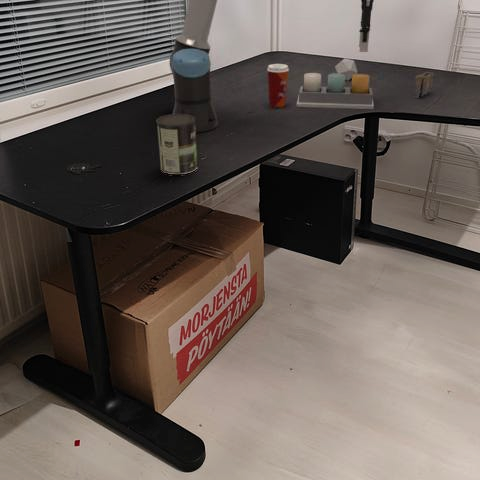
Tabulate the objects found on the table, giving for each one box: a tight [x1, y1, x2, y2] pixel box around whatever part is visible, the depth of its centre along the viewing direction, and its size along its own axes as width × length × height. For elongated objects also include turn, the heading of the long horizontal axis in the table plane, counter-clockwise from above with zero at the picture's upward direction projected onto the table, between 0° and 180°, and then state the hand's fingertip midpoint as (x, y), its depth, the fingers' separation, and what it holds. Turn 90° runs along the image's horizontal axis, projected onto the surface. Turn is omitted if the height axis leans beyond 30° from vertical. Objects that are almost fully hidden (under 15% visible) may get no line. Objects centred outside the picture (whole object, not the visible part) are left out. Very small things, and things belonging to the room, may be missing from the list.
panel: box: [296, 85, 375, 110], centre depth 219 cm, size 27×13×4 cm, turn 82°
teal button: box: [327, 72, 346, 93], centre depth 217 cm, size 6×6×6 cm
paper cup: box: [266, 63, 290, 108], centre depth 215 cm, size 8×8×14 cm
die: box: [334, 58, 359, 82], centre depth 247 cm, size 8×9×10 cm
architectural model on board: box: [412, 71, 434, 97], centre depth 225 cm, size 11×3×10 cm, turn 143°
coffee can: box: [155, 113, 199, 174], centre depth 164 cm, size 10×10×14 cm
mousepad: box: [66, 162, 102, 175], centre depth 168 cm, size 9×8×1 cm
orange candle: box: [351, 73, 370, 94], centre depth 215 cm, size 6×6×6 cm
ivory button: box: [303, 72, 322, 92], centre depth 218 cm, size 6×6×6 cm
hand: (363, 49), depth 209 cm, fingers open, 7 cm apart
